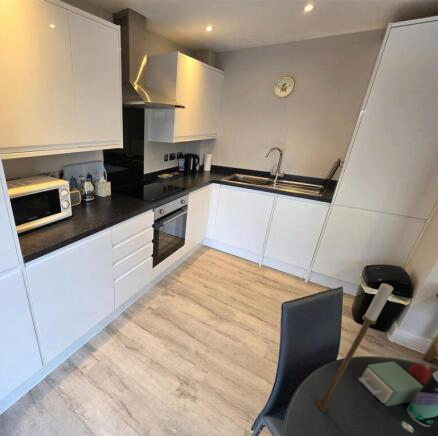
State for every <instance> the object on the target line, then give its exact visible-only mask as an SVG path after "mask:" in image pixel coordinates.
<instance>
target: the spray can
mask: <svg viewBox="0 0 438 436" xmlns="http://www.w3.org/2000/svg"><path fill="white" fill-rule="evenodd" d="M422 386H423V388H422V389H421V390H420V391H419V393H418V394H417V395H416V397H415V398H414V399H413V401H412V402H409V404H408V406H407V407H406V413H407V415H408V416H409V417H410V418H411V419H412V420H413V421H414V422H415V423H417V424H419V425H421V426H423V427H426V428H429V427H432V425H433V424H435V422H436V421H437V419H438V369H437V370H435V371H434V372H433V374H432V376H431V377H430V378H429V380H428V381H427V382H426V384H423V385H422Z"/></svg>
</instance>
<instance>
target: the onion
mask: <svg viewBox="0 0 438 436" xmlns="http://www.w3.org/2000/svg"><path fill="white" fill-rule="evenodd" d="M433 373H434V372H433V370H432V367H431V366H430V365H428V364H426V365H425V364H421V363H415V364H412V365H411V366H410V367H409V375H411V376H412V377H413V378H414V379H415V380H417V381H418V382H419V383H420V384H421V385H425V384H426V382H427V381H428V380H429V378H430V377H431V376H432V374H433Z"/></svg>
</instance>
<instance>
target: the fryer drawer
mask: <svg viewBox="0 0 438 436" xmlns="http://www.w3.org/2000/svg"><path fill="white" fill-rule="evenodd" d="M358 381H359V382H360V383H361V384H362V385H363V386H364V387H365V388H366V389H367V390H368V391H369V392H370V393H371V394H372V395H373V396H375V397H376V398H377V400H379V401H380V402H381V404H384V403H386V401H387V400H388V398H389V397H390V396H391V394H392V393H393V390H392V389H391V388H390V387H389V386H388V385H387V384H386V383H385V382H384V381H383V380H382V379H381V378H380V377H379V376H377V375H376V374H375V373H374V372H372V371H371V370H370V369H369V368H368V369H366V368H365V370H364V372H363V373H362V375H361V377H359V378H358Z"/></svg>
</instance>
